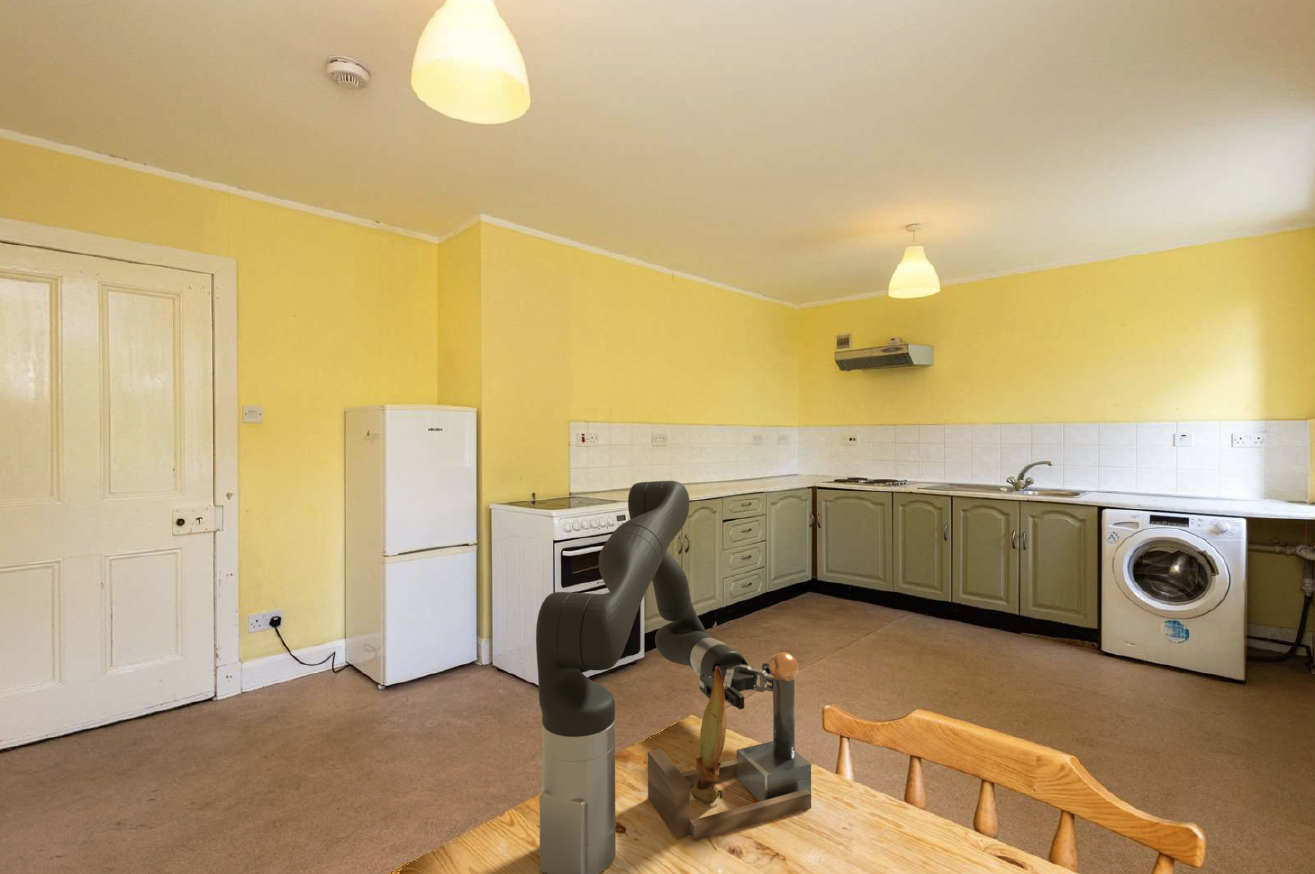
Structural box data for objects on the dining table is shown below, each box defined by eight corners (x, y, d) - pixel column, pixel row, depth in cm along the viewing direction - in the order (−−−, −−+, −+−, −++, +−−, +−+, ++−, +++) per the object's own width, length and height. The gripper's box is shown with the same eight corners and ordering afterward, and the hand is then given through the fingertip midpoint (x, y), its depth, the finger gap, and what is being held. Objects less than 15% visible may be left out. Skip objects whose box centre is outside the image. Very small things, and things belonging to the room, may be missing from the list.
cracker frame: (680, 845, 81) (680, 791, 81) (644, 794, 92) (644, 747, 92) (811, 807, 89) (811, 758, 89) (763, 765, 100) (763, 722, 100)
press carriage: (765, 806, 88) (764, 668, 88) (736, 778, 96) (736, 650, 96) (812, 793, 91) (811, 659, 91) (781, 766, 99) (780, 643, 99)
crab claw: (728, 821, 86) (727, 677, 86) (691, 820, 86) (690, 676, 86) (725, 792, 93) (725, 658, 92) (691, 791, 93) (691, 658, 93)
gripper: (682, 649, 112) (726, 682, 97) (750, 638, 117) (802, 668, 102) (682, 690, 112) (726, 730, 97) (751, 678, 117) (802, 714, 102)
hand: (765, 698), depth 99 cm, fingers open, 8 cm apart
